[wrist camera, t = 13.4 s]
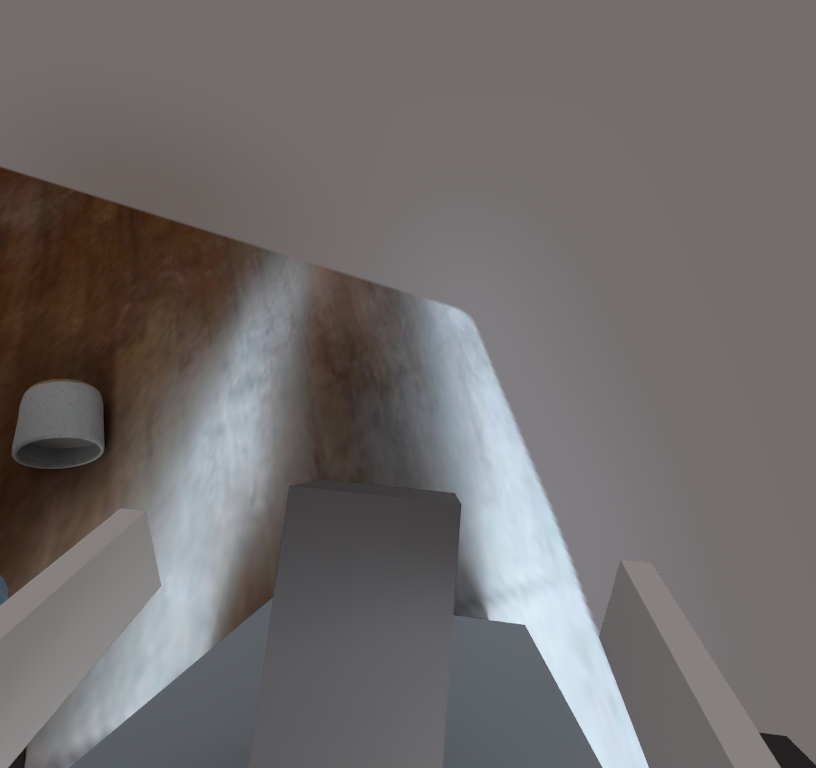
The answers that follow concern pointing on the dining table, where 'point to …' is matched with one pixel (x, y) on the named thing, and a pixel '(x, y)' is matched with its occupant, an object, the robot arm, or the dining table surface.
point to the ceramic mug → (59, 425)
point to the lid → (359, 659)
